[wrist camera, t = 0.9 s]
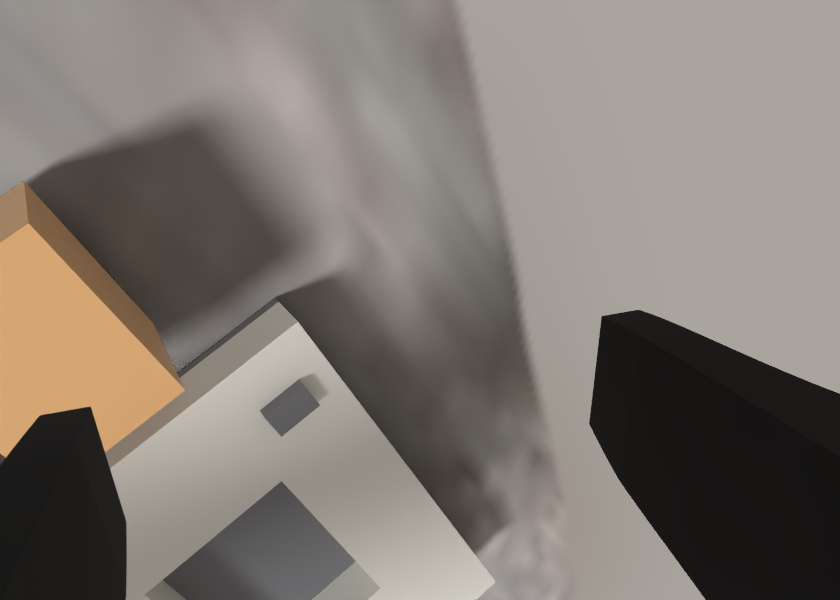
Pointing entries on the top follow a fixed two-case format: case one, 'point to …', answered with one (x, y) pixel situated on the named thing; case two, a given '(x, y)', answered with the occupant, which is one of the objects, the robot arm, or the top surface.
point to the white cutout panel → (278, 487)
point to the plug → (70, 332)
